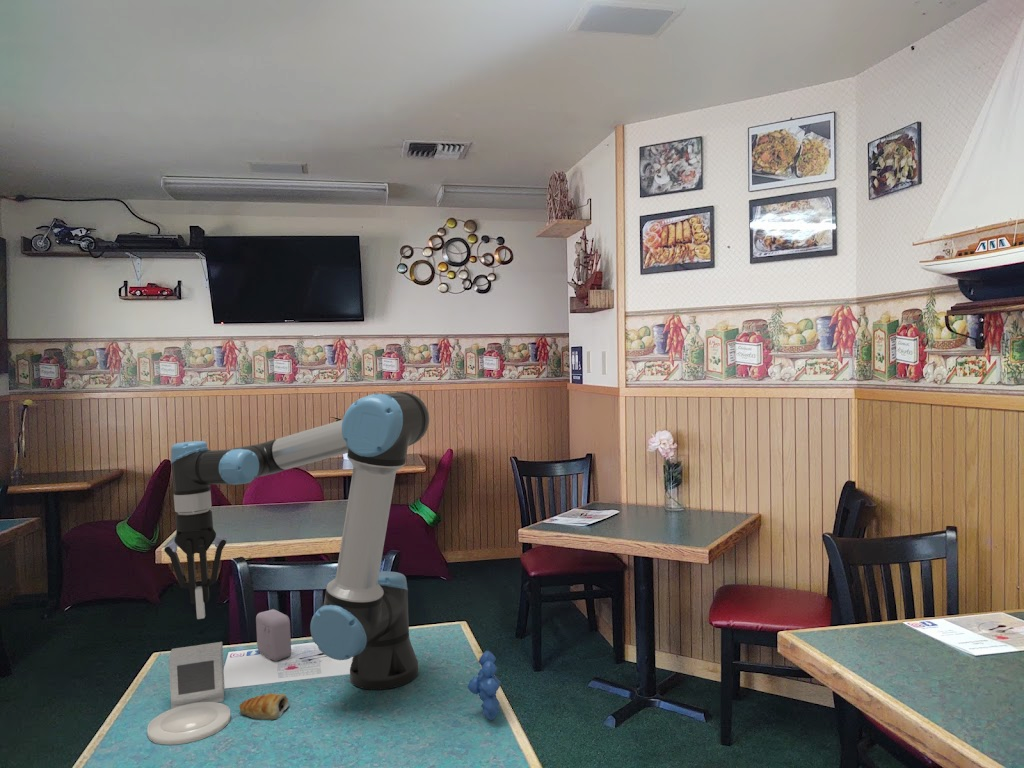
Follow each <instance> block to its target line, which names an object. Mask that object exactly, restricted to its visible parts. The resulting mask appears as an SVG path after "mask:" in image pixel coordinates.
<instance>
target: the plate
mask: <svg viewBox="0 0 1024 768" xmlns="http://www.w3.org/2000/svg"><path fill="white" fill-rule="evenodd" d="M230 721H231V709H230V707H229V706H228V705H226V704H224V703H222V702H218V703H217V702H198V703H191V704H186V705H182V706H179V707H176V708H173V709H171V708H170V709H169V710H166V711H164V712H162V713H160V714H158V715H157V716H155V717H154V718H152V720H150V722H149V723H148V724H147V733H146V734H147V738H148V740H150V741H151V742H152V743H155V744H159V745H163V746H164V745H166V746H167V745H169V746H175V745H183V744H184V745H185V744H189V743H193V742H197V741H200V740H203V739H206V738H209V737H211V736H213V735H215V734H217V733H219V732H220V731H221V730H223V729H224V728H226V727H227V726H228V724H229V723H230Z"/></svg>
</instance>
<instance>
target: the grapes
mask: <svg viewBox="0 0 1024 768" xmlns="http://www.w3.org/2000/svg"><path fill="white" fill-rule="evenodd" d="M496 659H497V658H496V656H495V655H494V654H493V653H492V652H491V651H489V650H485V651H484V652H483V653H482V654H481V655H480V657H479V660H478V663H479V665H480V669H479V671H478V673H477V675H478V676H473V677H472V678H471V679H470V680H469V682H468V683H467V685H466V688H468V690H469V691H470V692H471V693H472V695H478V696H479V697H478V698H479V699H480V701H482V704H481V708H482V713H483V716H485V718H487V719H488V720H490V721H494V719H496V717H497V716H498V713H500V712H499V711H500V708H499V706H500V704H501V702H500V700H498V698H497V691H498V690H499V688H500V687H501V684H502V682H501V681H500V680H499V679H498V677H497V676H496V675H495V674H496V673H497V671H498V667H497V665H496V664H494V663H495V661H496Z"/></svg>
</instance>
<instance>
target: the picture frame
mask: <svg viewBox="0 0 1024 768" xmlns="http://www.w3.org/2000/svg"><path fill="white" fill-rule="evenodd" d="M223 651H224V650H223V641H219V642H218V641H217V642H211V643H204V644H198V645H190V646H189V645H188V646H185V647H184V646H181V647H176V648H171V650H170V652H169V656H168V670H169V673H168V674H169V688H170V689H169V690H170V707H171V708H170V709H173V708H176V707H179V706H182V705H186V704H191V703H198V702H217V703H224V699H225V692H226V691H225V675H224V674H225V673H224V671H225V670H224V668H225V667H224V653H223Z"/></svg>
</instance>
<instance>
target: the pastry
mask: <svg viewBox="0 0 1024 768" xmlns="http://www.w3.org/2000/svg"><path fill="white" fill-rule="evenodd" d="M289 702H290V701H289V698H288V697H287V695H286V694H285V693H281V694H278V693H270V692H269V693H265V694H260V695H257V696H255V697H250V698H248V699H247V700H244V701H243V702H242V703H239V705H238V707H239V710H240V713H241V714H242V715H243V716H245V717H249V718H252V720H253V719H257V720H268V721H269V720H276V719H278V718H280V716H282V715H283V713H284V711H286V709H288V708H289Z"/></svg>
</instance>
